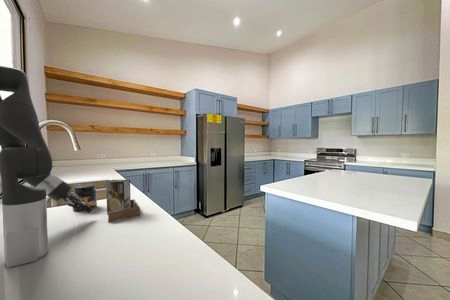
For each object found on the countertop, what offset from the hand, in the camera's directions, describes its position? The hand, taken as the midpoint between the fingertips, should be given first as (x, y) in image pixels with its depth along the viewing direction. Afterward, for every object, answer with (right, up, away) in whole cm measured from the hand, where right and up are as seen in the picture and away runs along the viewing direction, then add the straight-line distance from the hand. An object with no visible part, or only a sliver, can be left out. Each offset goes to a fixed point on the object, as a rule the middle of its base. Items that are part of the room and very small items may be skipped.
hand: (90, 210), depth 87 cm
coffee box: (+8, -4, +9) cm, 13 cm away
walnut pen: (+11, -4, +7) cm, 13 cm away
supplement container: (-14, -4, +15) cm, 21 cm away
